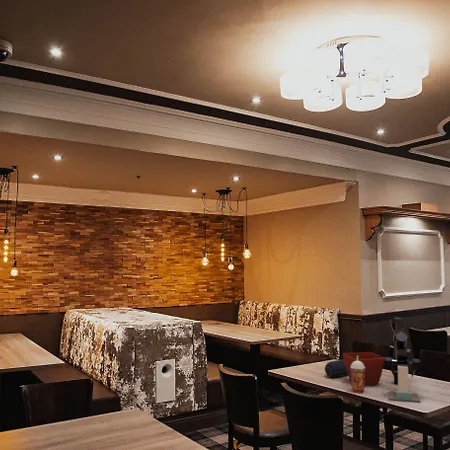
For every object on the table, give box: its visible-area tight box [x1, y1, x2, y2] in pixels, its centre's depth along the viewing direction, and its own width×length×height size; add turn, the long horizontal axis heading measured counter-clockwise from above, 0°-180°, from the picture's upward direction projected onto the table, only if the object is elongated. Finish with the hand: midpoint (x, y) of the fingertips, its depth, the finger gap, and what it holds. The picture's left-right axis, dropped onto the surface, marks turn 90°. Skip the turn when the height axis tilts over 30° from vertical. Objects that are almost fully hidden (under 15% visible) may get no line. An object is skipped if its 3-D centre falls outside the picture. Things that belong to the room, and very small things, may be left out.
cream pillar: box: [397, 365, 410, 392], centre depth 267 cm, size 5×5×13 cm
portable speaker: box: [324, 358, 348, 379], centre depth 320 cm, size 25×10×10 cm, turn 130°
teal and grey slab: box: [387, 388, 421, 404], centre depth 268 cm, size 16×14×4 cm
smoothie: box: [350, 356, 365, 394], centre depth 282 cm, size 8×8×20 cm
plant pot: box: [342, 351, 385, 387], centre depth 300 cm, size 19×19×17 cm
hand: (403, 376), depth 266 cm, fingers open, 9 cm apart
